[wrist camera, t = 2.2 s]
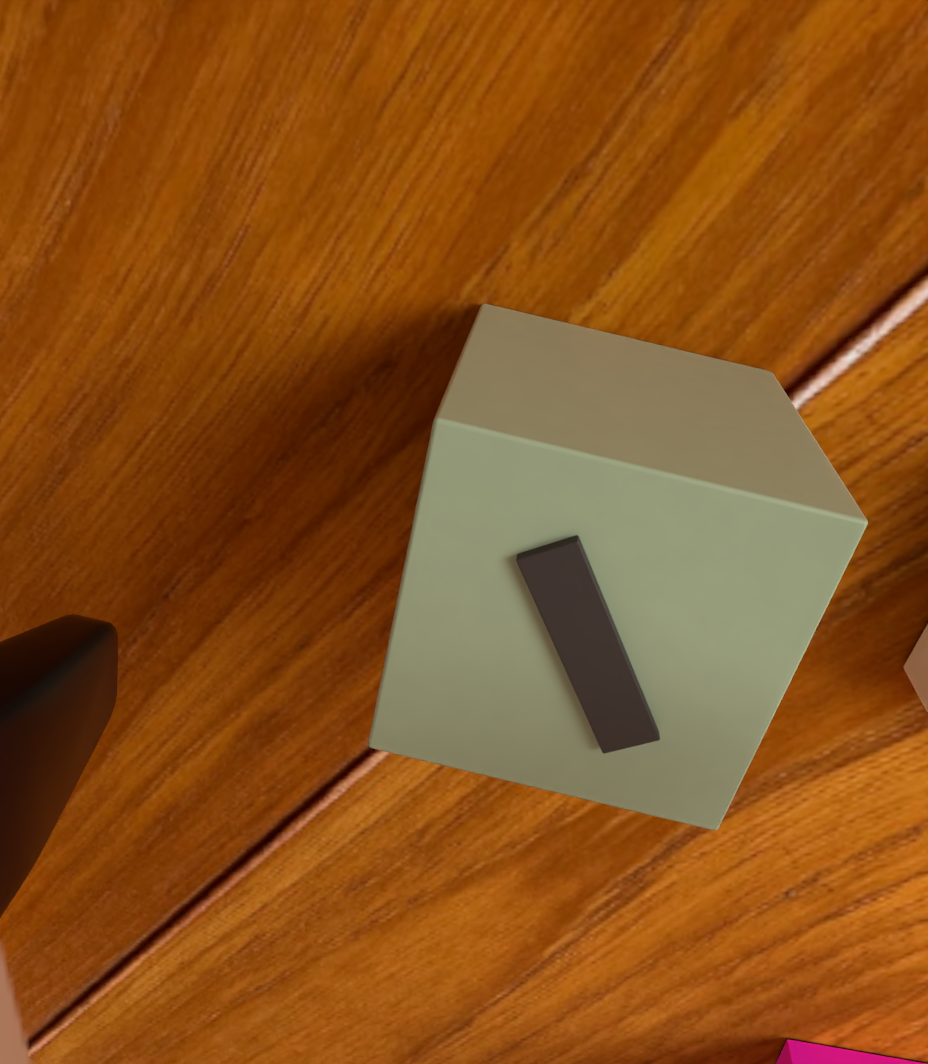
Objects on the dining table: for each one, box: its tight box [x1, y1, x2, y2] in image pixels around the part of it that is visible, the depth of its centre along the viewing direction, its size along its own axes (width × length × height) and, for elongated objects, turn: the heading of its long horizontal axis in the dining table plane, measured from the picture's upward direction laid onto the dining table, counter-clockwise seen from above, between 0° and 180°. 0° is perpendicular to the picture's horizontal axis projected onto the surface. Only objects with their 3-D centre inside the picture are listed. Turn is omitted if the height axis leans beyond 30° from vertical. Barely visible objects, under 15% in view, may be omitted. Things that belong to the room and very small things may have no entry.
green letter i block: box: [368, 304, 867, 830], centre depth 12 cm, size 4×4×5 cm
